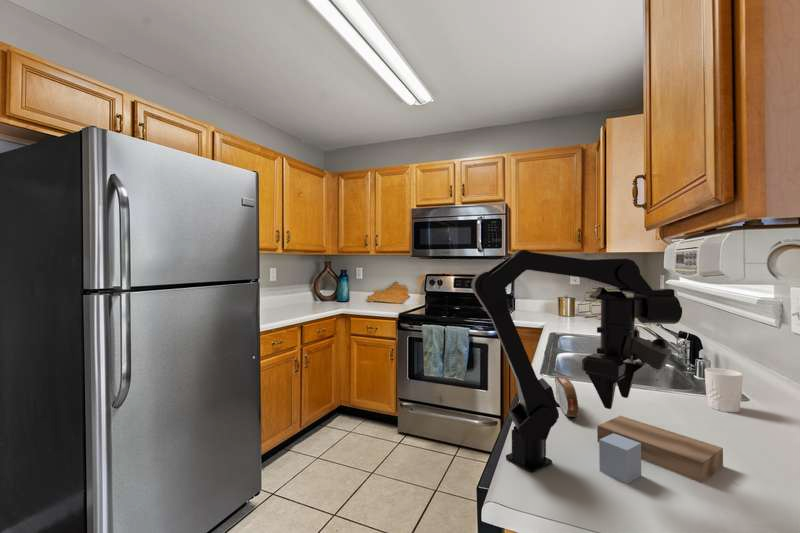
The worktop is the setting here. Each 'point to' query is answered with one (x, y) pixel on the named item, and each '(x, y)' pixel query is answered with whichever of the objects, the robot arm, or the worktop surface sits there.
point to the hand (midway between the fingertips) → (616, 402)
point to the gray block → (620, 457)
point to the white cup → (723, 389)
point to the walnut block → (667, 448)
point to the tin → (566, 396)
